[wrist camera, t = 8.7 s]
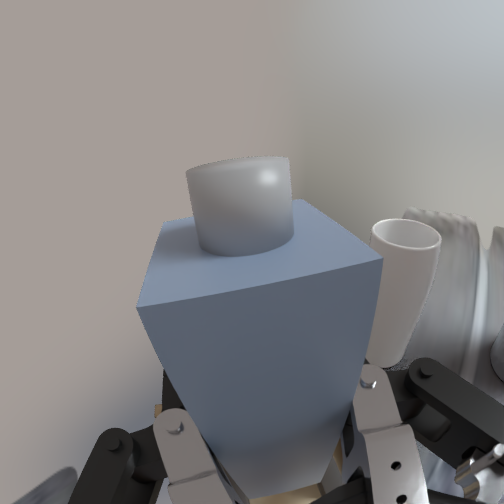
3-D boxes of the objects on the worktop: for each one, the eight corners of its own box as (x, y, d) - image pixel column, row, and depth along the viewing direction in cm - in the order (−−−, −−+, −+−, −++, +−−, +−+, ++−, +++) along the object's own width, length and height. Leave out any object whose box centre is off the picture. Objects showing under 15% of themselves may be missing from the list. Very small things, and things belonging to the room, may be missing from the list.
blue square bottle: (300, 430, 14) (298, 147, 7) (320, 482, 10) (389, 167, 4) (237, 444, 13) (152, 170, 7) (249, 499, 10) (103, 210, 3)
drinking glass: (381, 325, 31) (399, 213, 24) (418, 354, 25) (454, 235, 19) (342, 350, 29) (354, 228, 22) (380, 385, 23) (417, 258, 16)
